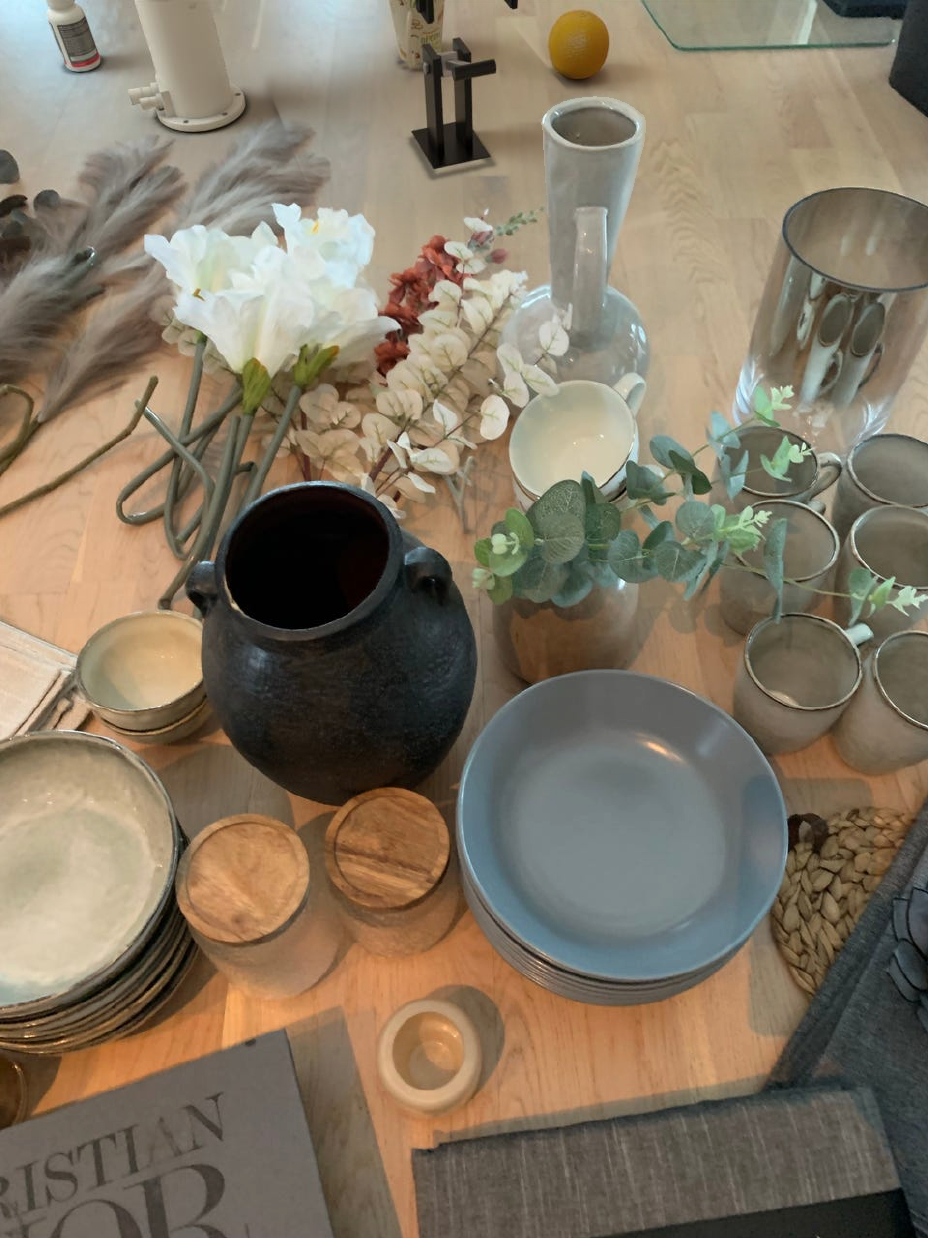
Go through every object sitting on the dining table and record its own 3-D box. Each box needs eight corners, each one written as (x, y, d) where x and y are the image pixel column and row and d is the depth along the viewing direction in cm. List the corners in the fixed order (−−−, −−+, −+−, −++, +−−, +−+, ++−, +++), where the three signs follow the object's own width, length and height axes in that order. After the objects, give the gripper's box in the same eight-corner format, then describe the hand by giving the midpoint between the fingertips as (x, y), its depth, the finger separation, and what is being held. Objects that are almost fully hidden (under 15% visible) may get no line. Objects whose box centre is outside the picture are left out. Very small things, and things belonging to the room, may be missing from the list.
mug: (450, 48, 133) (448, -28, 124) (441, 89, 126) (438, 11, 118) (397, 47, 133) (391, -29, 125) (385, 87, 127) (378, 10, 118)
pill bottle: (108, 59, 134) (83, -14, 126) (87, 75, 131) (60, 1, 123) (80, 53, 135) (53, -19, 127) (59, 69, 132) (30, -4, 124)
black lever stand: (490, 164, 115) (490, 60, 104) (434, 176, 113) (427, 72, 103) (466, 127, 120) (463, 24, 109) (411, 139, 119) (403, 36, 108)
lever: (497, 78, 100) (495, 53, 98) (456, 86, 99) (453, 62, 97) (463, 70, 110) (461, 48, 108) (426, 77, 109) (423, 55, 107)
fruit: (595, 57, 130) (600, -4, 123) (614, 82, 126) (620, 21, 119) (539, 66, 129) (542, 5, 122) (556, 92, 125) (560, 30, 118)
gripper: (389, -172, 77) (403, 39, 91) (568, -197, 80) (554, 13, 94) (367, -198, 81) (383, 9, 95) (538, -220, 83) (529, -16, 98)
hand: (468, 11), depth 95 cm, fingers open, 9 cm apart
